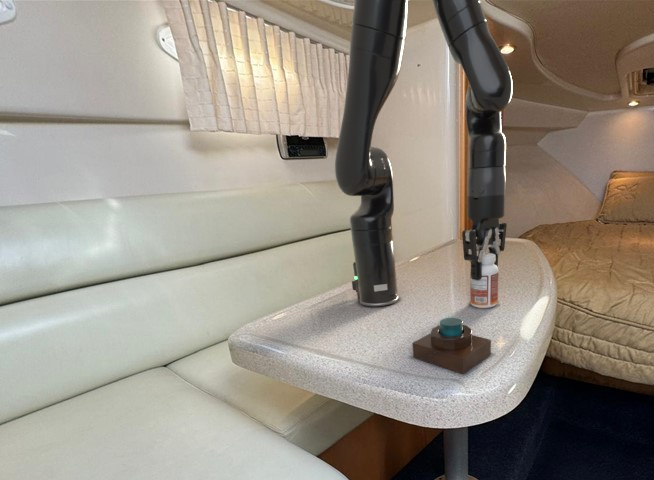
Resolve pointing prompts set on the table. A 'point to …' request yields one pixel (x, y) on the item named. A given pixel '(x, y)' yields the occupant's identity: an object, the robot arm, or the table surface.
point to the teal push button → (451, 327)
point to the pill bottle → (485, 284)
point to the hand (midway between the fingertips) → (484, 275)
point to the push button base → (452, 349)
